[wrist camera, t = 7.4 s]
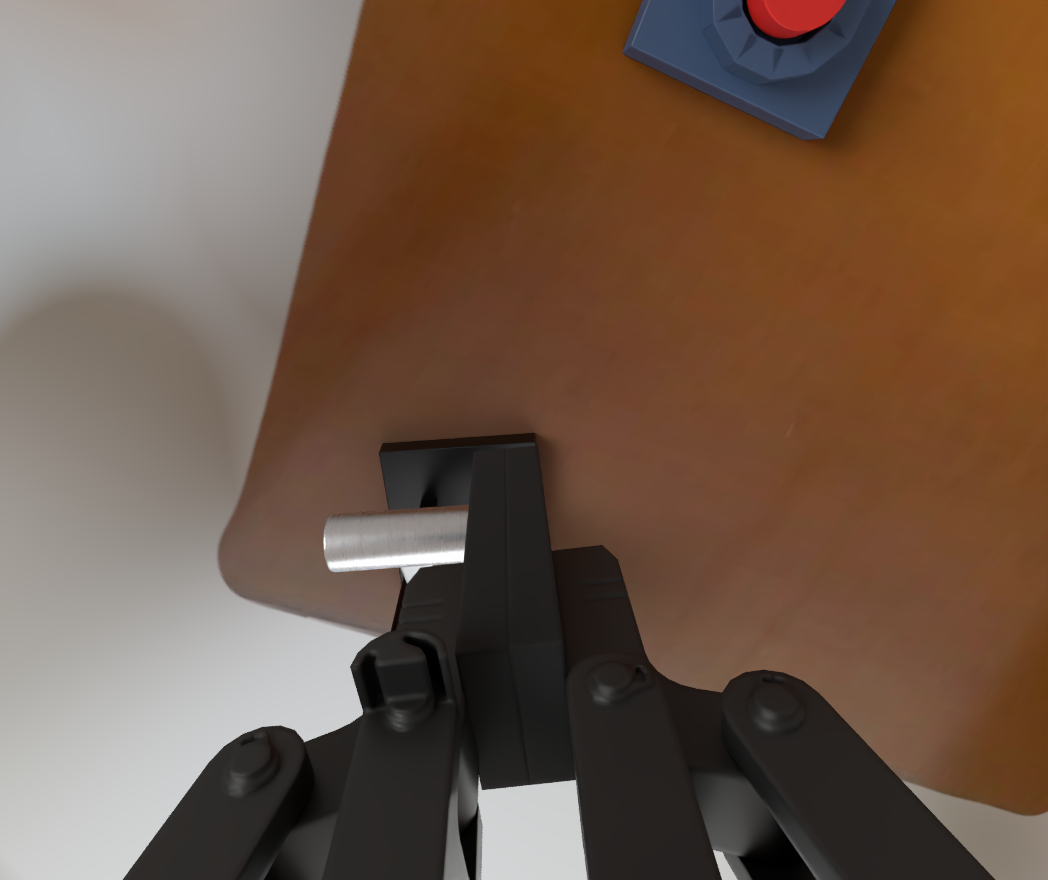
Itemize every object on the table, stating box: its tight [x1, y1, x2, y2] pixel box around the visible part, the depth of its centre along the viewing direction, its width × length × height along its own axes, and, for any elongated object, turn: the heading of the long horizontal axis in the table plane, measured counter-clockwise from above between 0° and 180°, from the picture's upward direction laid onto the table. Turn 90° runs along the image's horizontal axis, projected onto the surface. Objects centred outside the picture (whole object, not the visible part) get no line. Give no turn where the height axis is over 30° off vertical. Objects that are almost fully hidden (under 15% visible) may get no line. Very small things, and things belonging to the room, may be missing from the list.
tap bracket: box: [379, 433, 536, 631], centre depth 33 cm, size 11×9×14 cm
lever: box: [323, 505, 469, 583], centre depth 24 cm, size 13×5×2 cm
